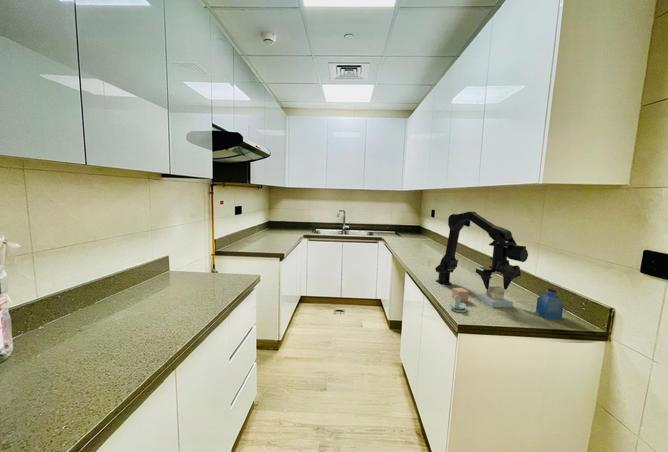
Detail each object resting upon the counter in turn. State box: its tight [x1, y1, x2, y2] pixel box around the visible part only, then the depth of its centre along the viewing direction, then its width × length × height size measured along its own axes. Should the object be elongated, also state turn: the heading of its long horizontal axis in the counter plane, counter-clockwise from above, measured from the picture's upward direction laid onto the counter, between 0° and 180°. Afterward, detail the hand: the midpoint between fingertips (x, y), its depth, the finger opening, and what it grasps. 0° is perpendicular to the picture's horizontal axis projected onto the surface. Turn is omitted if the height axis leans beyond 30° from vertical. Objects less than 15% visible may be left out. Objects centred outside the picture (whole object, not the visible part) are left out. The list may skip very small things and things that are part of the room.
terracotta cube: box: [451, 287, 469, 303], centre depth 127 cm, size 5×5×5 cm
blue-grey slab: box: [477, 293, 514, 308], centre depth 125 cm, size 10×10×3 cm
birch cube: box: [485, 284, 506, 300], centre depth 124 cm, size 5×5×5 cm
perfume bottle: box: [535, 286, 565, 321], centre depth 112 cm, size 6×6×12 cm
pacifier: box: [448, 295, 468, 313], centre depth 115 cm, size 7×6×6 cm
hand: (496, 289), depth 124 cm, fingers open, 9 cm apart
